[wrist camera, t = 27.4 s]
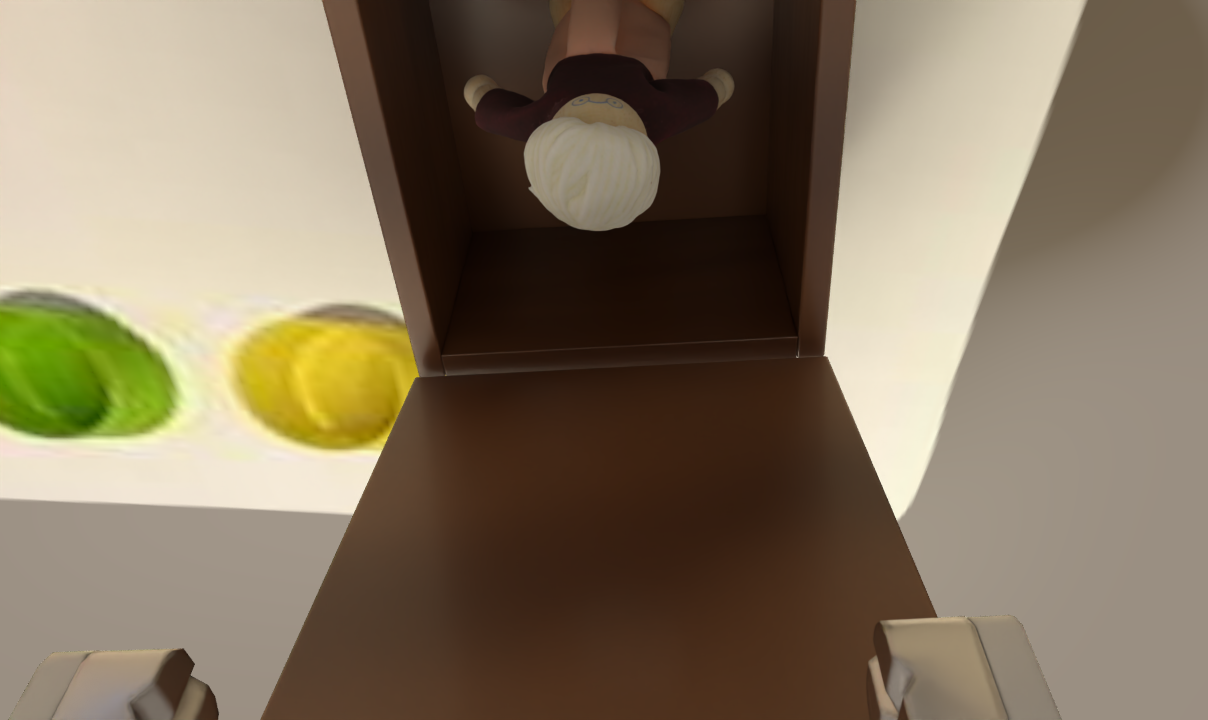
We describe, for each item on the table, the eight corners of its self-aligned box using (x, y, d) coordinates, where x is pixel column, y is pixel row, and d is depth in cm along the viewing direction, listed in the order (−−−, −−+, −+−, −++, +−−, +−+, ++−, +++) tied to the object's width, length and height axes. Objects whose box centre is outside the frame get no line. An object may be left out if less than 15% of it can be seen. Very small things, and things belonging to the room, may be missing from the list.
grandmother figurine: (704, -71, 29) (747, 77, 19) (721, 47, 31) (769, 234, 21) (474, -16, 30) (401, 152, 20) (507, 94, 32) (456, 292, 22)
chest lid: (195, 859, 15) (268, 1030, 17) (1035, 841, 14) (995, 1023, 16) (414, 376, 30) (438, 502, 32) (827, 355, 29) (822, 485, 31)
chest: (365, -213, 28) (278, -165, 20) (809, -252, 27) (877, -217, 20) (456, 241, 37) (419, 378, 30) (785, 221, 36) (824, 357, 29)
